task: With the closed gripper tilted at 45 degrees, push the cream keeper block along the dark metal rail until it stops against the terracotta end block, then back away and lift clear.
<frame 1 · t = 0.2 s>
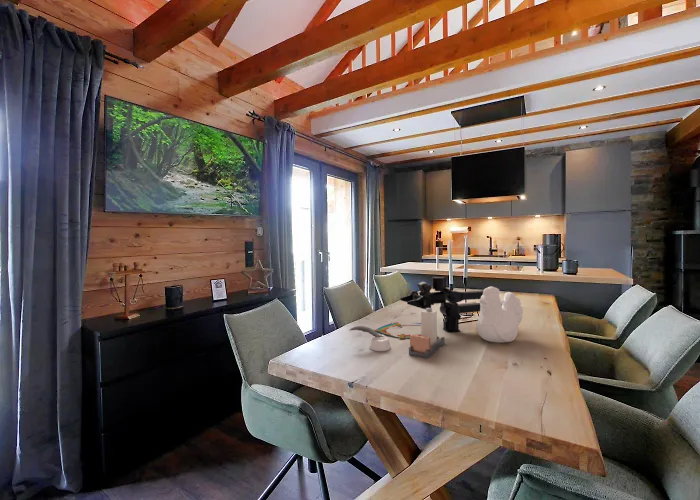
hand: (403, 301, 158), 16 cm above the table, tool horizontal, fingers open, 9 cm apart
inkwell: (370, 349, 140), on the table
keeper: (429, 326, 139), point 9 cm above the table, slide at -2.0 cm
ribbon cable: (402, 331, 166), on the table
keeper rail: (427, 349, 138), on the table
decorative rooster: (503, 340, 147), on the table
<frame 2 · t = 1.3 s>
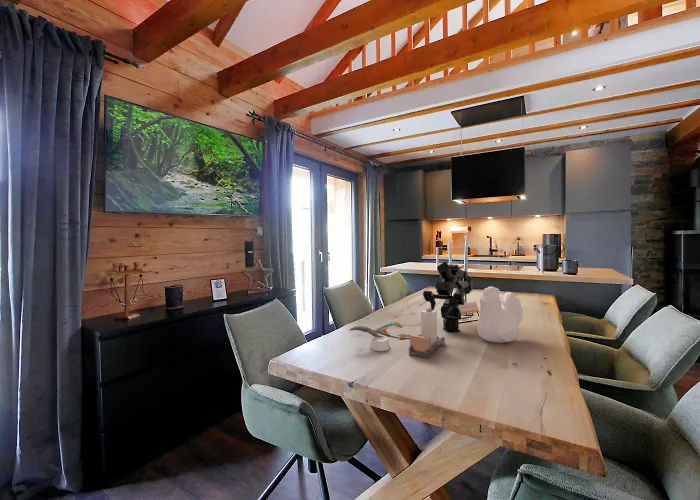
hand: (439, 312, 149), 13 cm above the table, tool tilted 45°, fingers open, 7 cm apart
nothing on the table moved.
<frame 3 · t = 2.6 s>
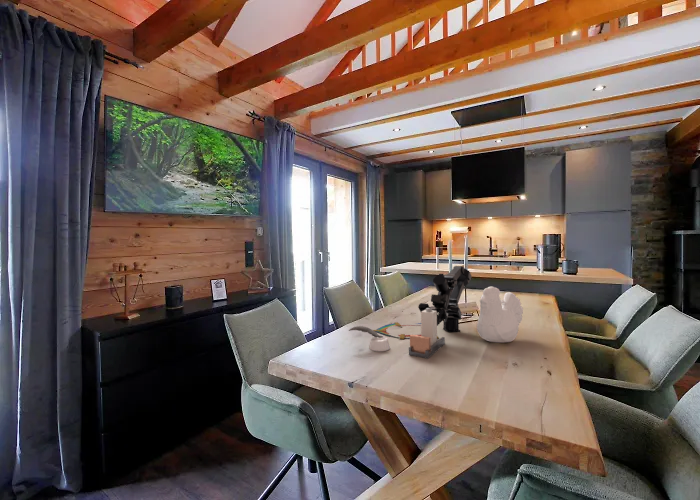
hand: (434, 326, 145), 8 cm above the table, tool tilted 45°, fingers closed
nothing on the table moved.
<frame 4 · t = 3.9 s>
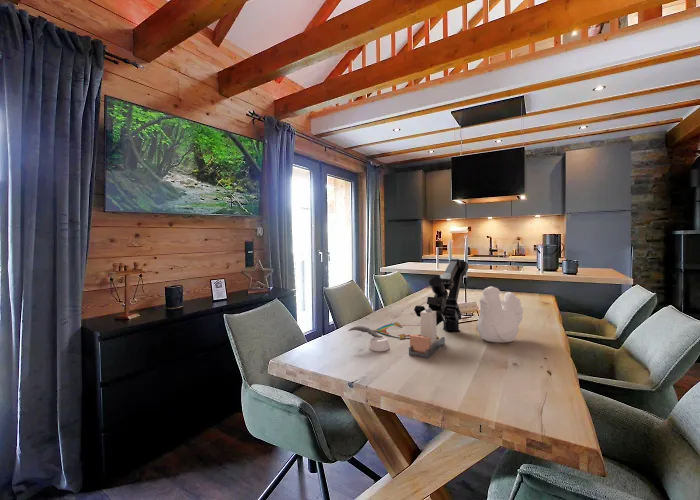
hand: (430, 329, 141), 7 cm above the table, tool tilted 45°, fingers closed, pressing on keeper
keeper: (428, 326, 139), point 9 cm above the table, slide at -1.3 cm, touching gripper
everything else where it was.
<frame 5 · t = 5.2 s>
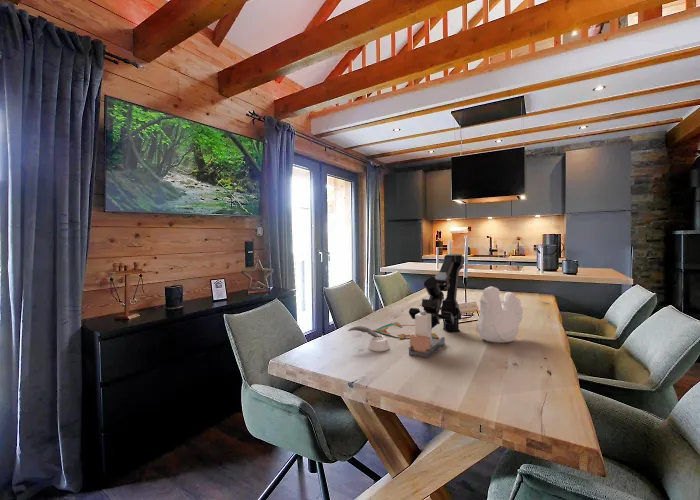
hand: (425, 333, 136), 7 cm above the table, tool tilted 45°, fingers closed, pressing on keeper
keeper: (423, 329, 134), point 9 cm above the table, slide at 4.3 cm, touching gripper, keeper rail
everything else where it was.
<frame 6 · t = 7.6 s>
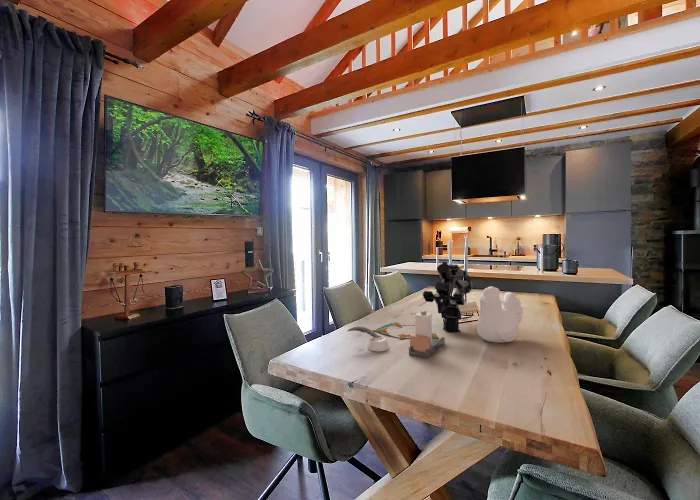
hand: (439, 313, 149), 12 cm above the table, tool tilted 45°, fingers closed
keeper: (423, 329, 134), point 9 cm above the table, slide at 4.0 cm
everything else where it was.
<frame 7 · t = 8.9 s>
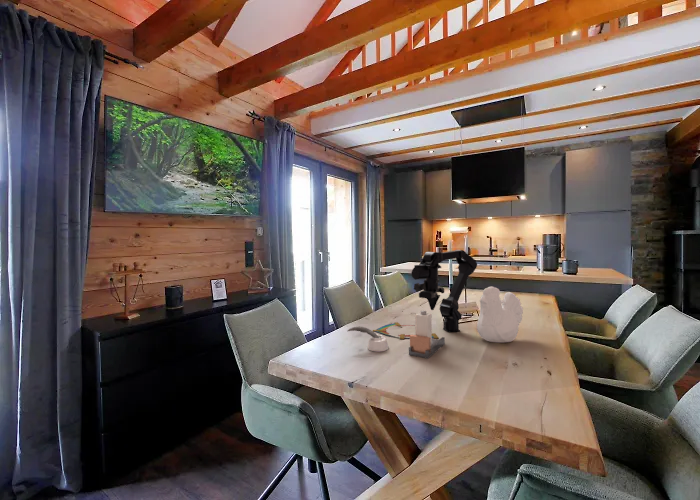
hand: (432, 309, 157), 12 cm above the table, tool pointing down, fingers closed
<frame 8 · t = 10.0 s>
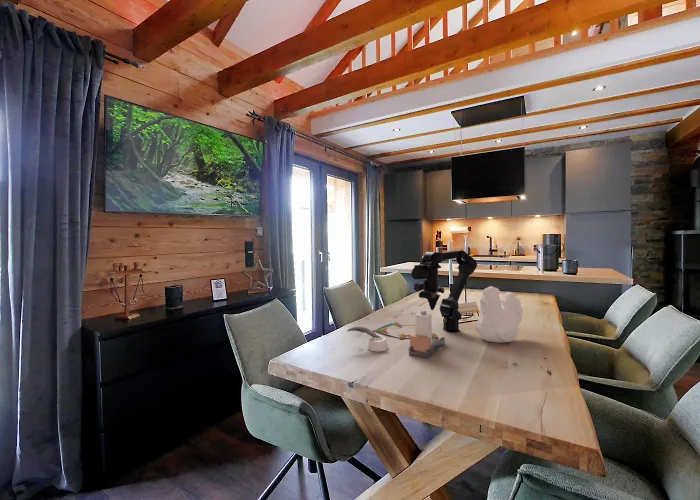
hand: (432, 309, 157), 12 cm above the table, tool pointing down, fingers closed
at the end: keeper slide at 4.0 cm; inkwell moved 1.3 cm from its start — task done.
